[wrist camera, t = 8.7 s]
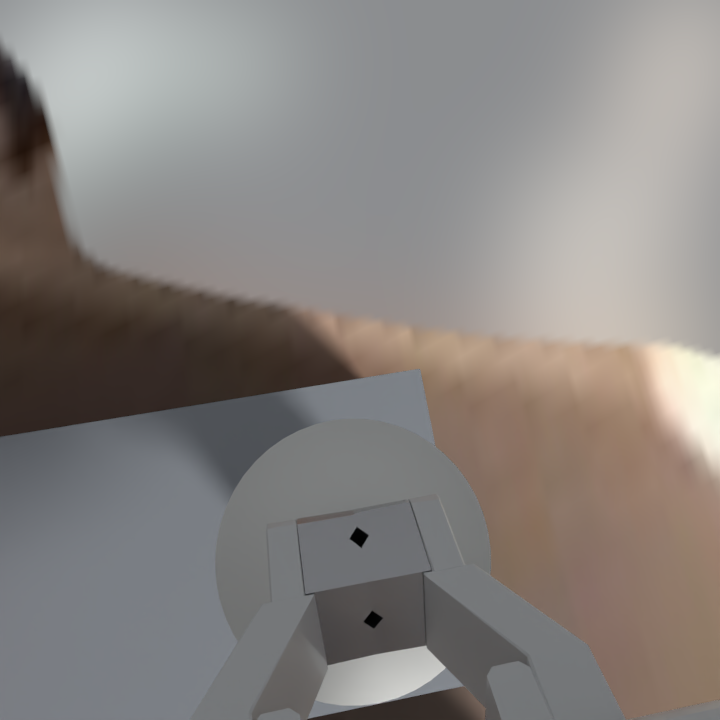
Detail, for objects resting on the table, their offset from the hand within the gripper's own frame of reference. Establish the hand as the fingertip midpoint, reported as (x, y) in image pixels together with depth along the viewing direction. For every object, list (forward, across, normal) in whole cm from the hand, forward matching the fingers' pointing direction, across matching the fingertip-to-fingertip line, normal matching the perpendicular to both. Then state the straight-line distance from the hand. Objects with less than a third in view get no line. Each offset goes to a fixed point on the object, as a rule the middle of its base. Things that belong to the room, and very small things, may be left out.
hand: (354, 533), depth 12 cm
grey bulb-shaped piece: (+10, 0, +11) cm, 15 cm away
